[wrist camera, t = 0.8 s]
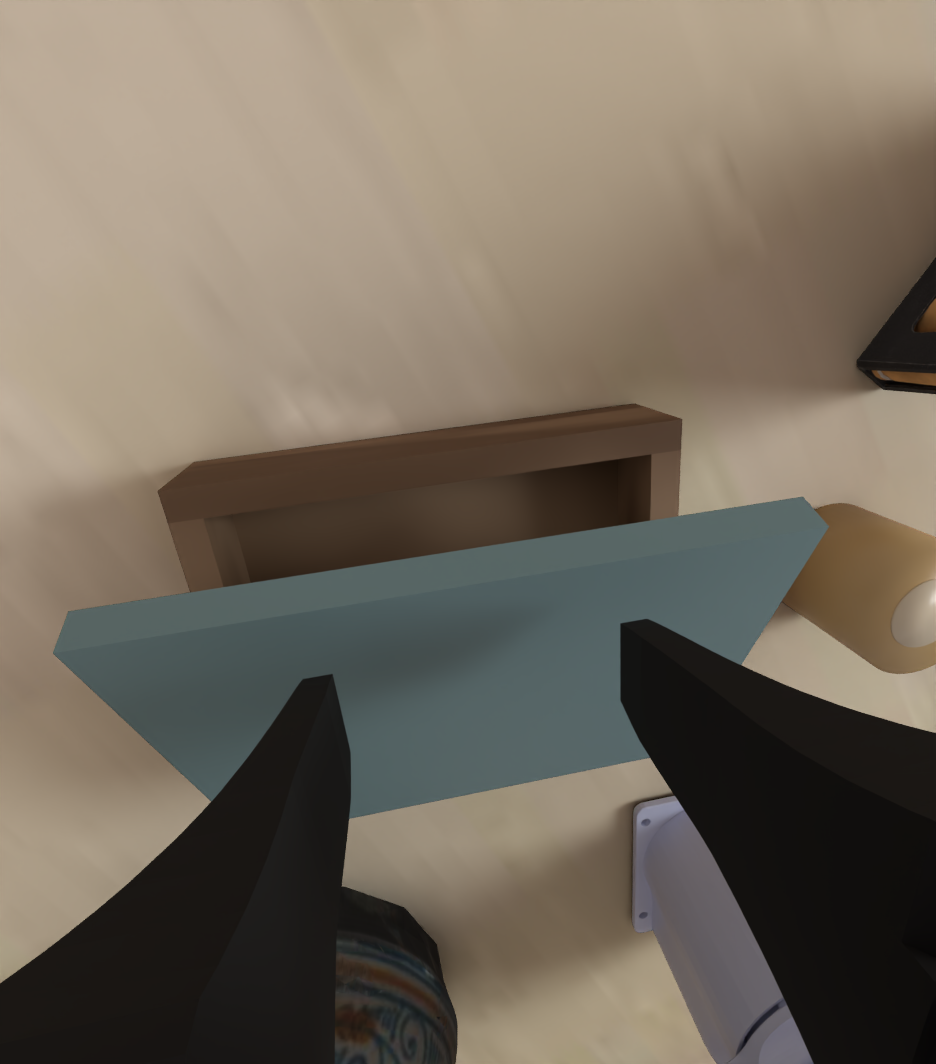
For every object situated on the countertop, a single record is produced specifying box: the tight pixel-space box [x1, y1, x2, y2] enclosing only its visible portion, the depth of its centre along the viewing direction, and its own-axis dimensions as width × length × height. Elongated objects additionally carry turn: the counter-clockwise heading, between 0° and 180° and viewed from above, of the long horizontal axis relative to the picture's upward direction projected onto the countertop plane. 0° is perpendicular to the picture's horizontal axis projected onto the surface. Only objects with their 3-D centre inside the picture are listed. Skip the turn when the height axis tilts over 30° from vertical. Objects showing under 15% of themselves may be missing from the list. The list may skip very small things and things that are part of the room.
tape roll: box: [782, 503, 936, 674], centre depth 23 cm, size 5×5×5 cm
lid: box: [53, 497, 829, 819], centre depth 17 cm, size 12×16×1 cm
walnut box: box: [158, 404, 682, 592], centre depth 21 cm, size 12×16×4 cm
